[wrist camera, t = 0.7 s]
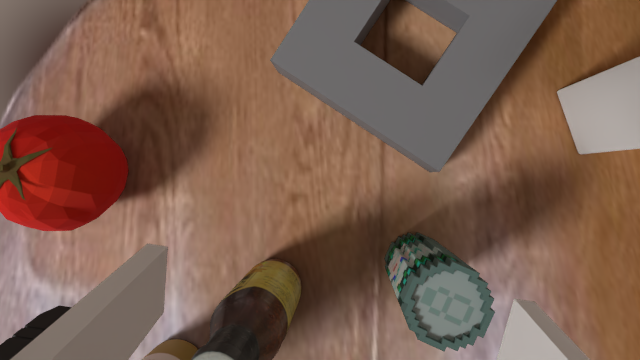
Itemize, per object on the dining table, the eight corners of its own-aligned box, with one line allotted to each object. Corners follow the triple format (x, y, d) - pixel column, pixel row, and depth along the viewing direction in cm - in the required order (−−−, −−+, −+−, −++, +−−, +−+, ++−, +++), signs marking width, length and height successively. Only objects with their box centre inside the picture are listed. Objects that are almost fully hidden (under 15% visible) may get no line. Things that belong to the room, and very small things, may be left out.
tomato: (40, 136, 46) (-84, 119, 33) (140, 113, 45) (53, 86, 32) (60, 233, 46) (-56, 256, 33) (160, 212, 45) (82, 227, 32)
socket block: (537, 15, 42) (560, -5, 37) (430, 172, 43) (439, 171, 38) (379, -83, 43) (382, -114, 38) (278, 72, 44) (270, 60, 39)
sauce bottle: (257, 249, 44) (181, 309, 24) (310, 266, 44) (277, 340, 24) (241, 305, 44) (152, 409, 24) (293, 322, 44) (247, 441, 24)
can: (399, 224, 43) (425, 250, 28) (451, 247, 42) (506, 285, 28) (376, 275, 43) (391, 327, 28) (428, 298, 43) (471, 363, 28)
